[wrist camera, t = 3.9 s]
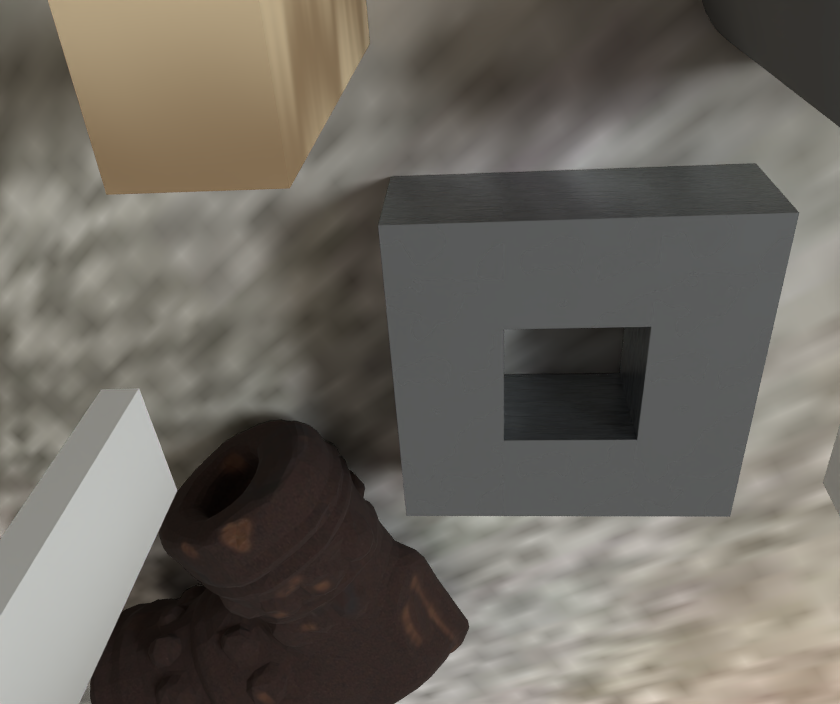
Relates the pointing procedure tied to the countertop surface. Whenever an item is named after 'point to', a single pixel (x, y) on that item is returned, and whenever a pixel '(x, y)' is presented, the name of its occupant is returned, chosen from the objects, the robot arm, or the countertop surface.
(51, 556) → the robot arm
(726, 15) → the gray capsule
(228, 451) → the pipe
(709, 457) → the socket block
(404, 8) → the countertop surface
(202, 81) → the oak peg
